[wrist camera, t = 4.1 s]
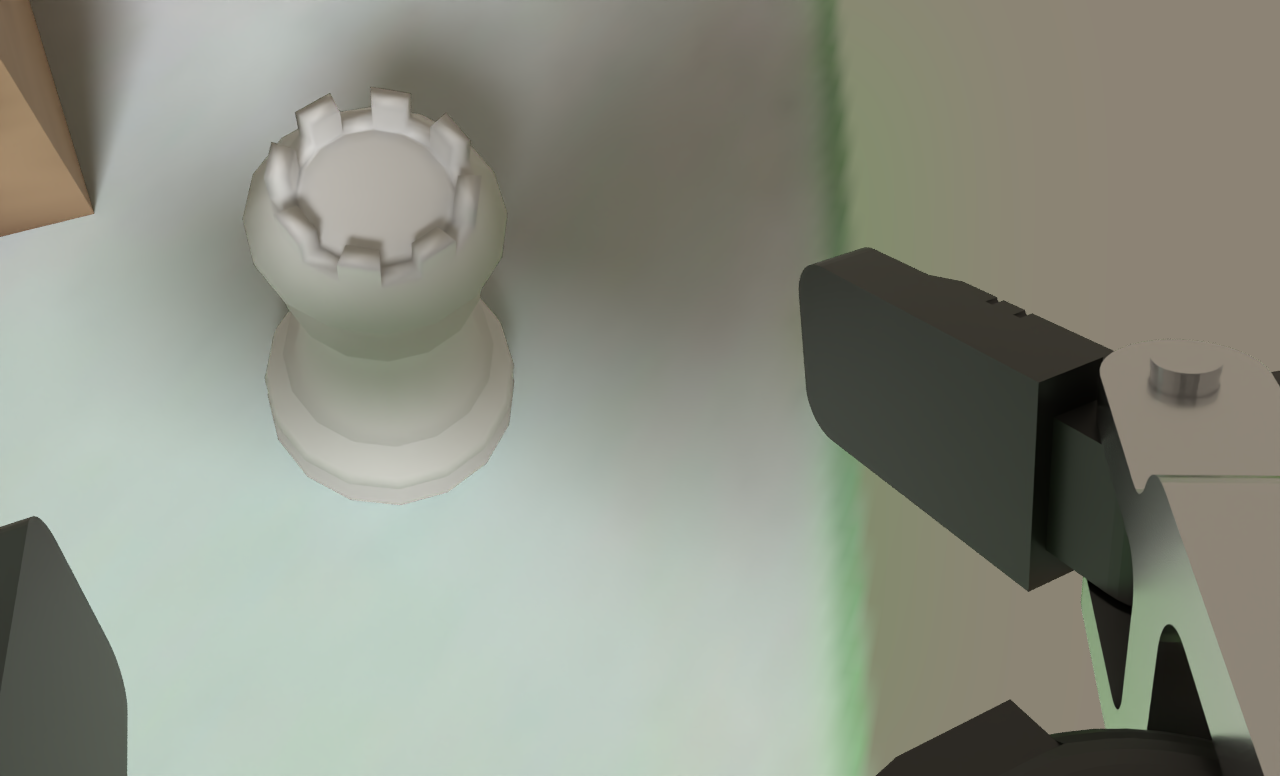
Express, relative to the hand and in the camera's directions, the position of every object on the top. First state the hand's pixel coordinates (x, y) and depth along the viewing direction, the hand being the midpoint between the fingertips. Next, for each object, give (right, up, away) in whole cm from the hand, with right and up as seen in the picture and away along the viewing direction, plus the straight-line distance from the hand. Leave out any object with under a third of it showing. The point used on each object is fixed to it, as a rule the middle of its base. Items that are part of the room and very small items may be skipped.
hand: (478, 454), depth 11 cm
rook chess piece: (-3, 0, +9) cm, 10 cm away
